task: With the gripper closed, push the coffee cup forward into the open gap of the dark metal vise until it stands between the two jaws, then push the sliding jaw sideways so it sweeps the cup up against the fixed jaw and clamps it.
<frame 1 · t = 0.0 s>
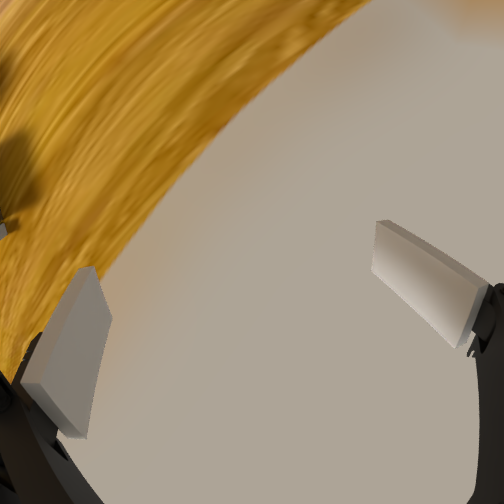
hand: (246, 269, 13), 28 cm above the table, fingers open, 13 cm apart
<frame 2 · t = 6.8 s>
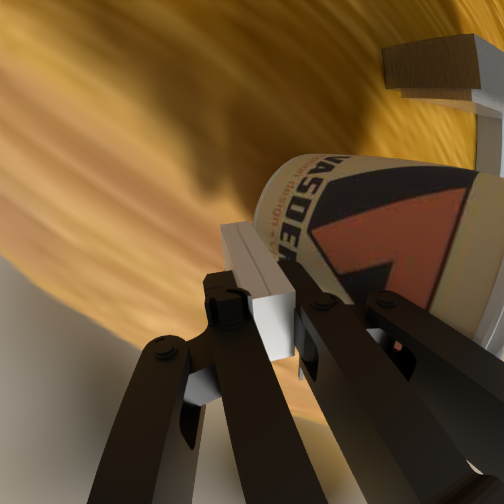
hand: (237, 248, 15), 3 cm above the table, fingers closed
coffee cup: (302, 220, 17), point 1 cm above the table, touching gripper, hand
fixed jaw: (436, 80, 16), on the table
back rail: (477, 202, 21), on the table
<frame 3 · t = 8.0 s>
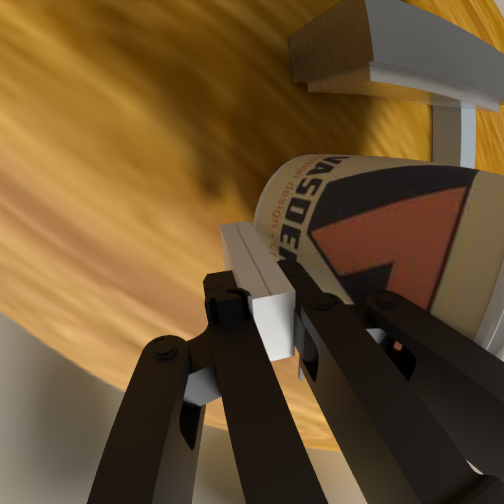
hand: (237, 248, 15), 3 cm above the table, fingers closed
coffee cup: (302, 220, 16), point 1 cm above the table, touching gripper, hand
fixed jaw: (369, 67, 15), on the table
back rail: (435, 209, 20), on the table
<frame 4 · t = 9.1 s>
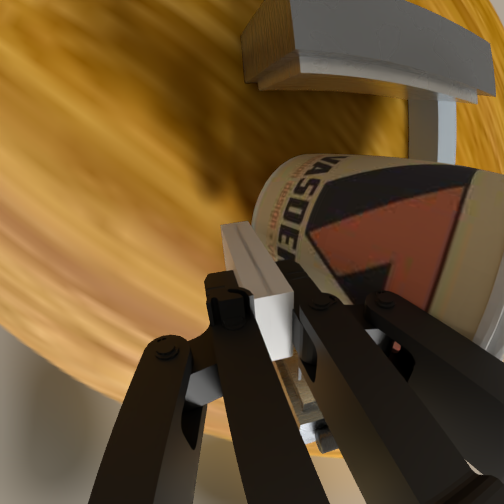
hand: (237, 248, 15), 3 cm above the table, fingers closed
coffee cup: (300, 220, 16), point 1 cm above the table, touching gripper, hand
fixed jaw: (333, 61, 14), on the table
sliding jaw: (359, 373, 18), point 5 cm above the table, slide at 0.0 cm
back rail: (413, 211, 20), on the table
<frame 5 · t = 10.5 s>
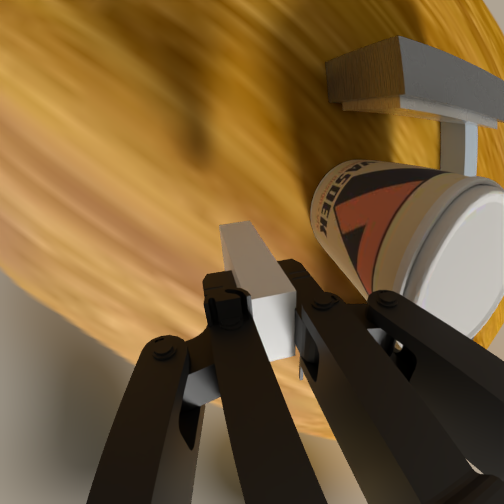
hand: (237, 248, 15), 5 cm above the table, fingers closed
coffee cup: (354, 208, 21), on the table
fixed jaw: (389, 89, 18), on the table
sliding jaw: (408, 343, 21), point 5 cm above the table, slide at 0.0 cm
back rail: (443, 211, 23), on the table
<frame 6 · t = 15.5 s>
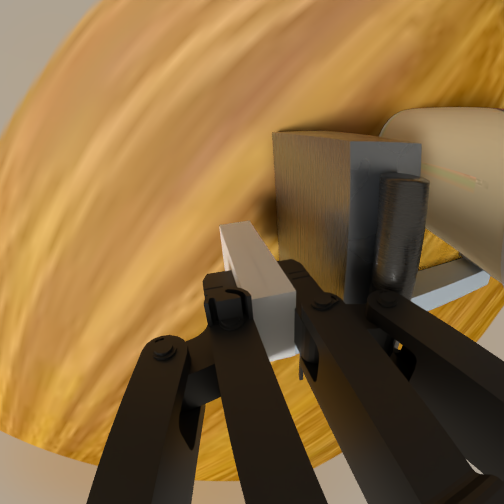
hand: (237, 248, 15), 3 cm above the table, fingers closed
coffee cup: (412, 160, 18), on the table
sliding jaw: (344, 256, 13), point 5 cm above the table, slide at 1.3 cm, touching gripper
back rail: (390, 289, 22), on the table
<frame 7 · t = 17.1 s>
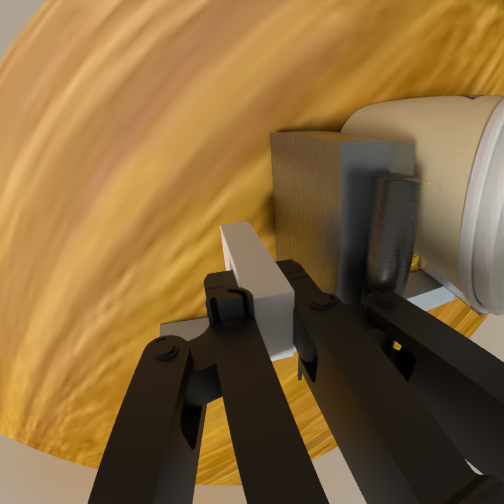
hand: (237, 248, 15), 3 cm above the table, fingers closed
coffee cup: (380, 158, 18), on the table, touching fixed jaw, sliding jaw
fixed jaw: (438, 203, 20), on the table
sliding jaw: (340, 255, 13), point 5 cm above the table, slide at 7.2 cm, touching coffee cup, gripper
back rail: (325, 305, 21), on the table
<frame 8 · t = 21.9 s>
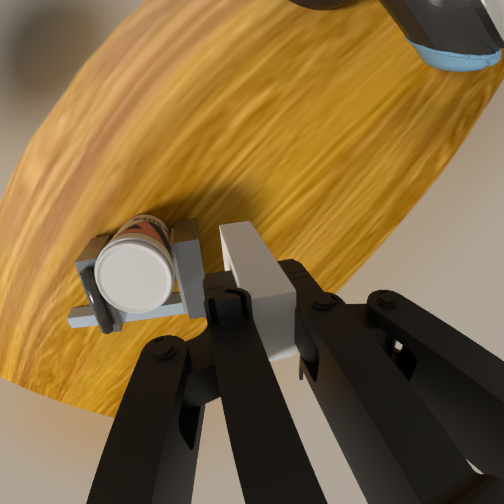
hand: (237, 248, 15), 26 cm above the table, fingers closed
coffee cup: (145, 239, 40), on the table
fixed jaw: (191, 255, 43), on the table
sliding jaw: (105, 285, 36), point 5 cm above the table, slide at 7.2 cm
back rail: (136, 304, 44), on the table
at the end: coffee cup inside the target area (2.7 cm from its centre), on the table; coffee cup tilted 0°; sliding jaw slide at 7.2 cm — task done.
